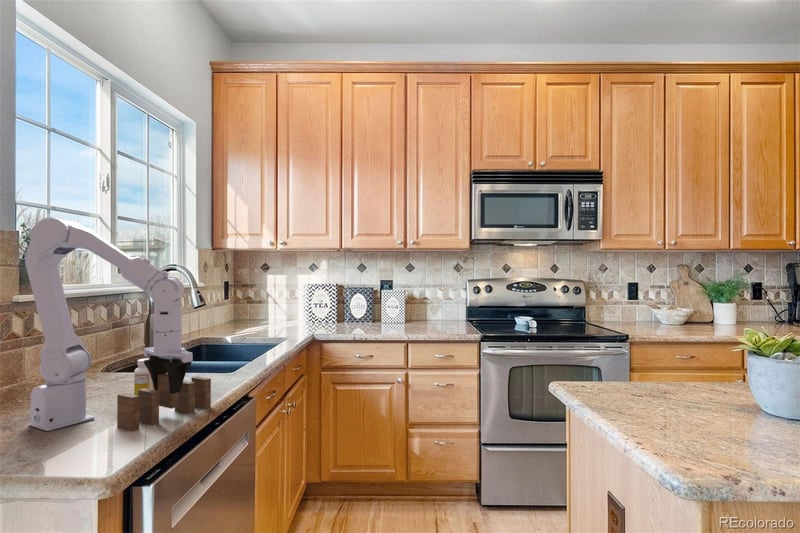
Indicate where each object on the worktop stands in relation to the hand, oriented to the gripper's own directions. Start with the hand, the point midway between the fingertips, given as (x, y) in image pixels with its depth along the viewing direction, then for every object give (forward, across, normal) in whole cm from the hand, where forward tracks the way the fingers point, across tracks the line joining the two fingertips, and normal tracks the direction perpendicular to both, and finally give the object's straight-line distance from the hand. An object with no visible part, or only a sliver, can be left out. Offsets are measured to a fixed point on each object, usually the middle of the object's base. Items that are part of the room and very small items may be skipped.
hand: (167, 391), depth 108 cm
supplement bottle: (+6, +20, -8) cm, 22 cm away
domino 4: (+6, 0, -4) cm, 7 cm away
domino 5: (+6, 0, -9) cm, 11 cm away
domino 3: (+3, 0, 0) cm, 3 cm away
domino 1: (+6, 0, +9) cm, 11 cm away
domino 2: (+6, 0, +4) cm, 7 cm away
